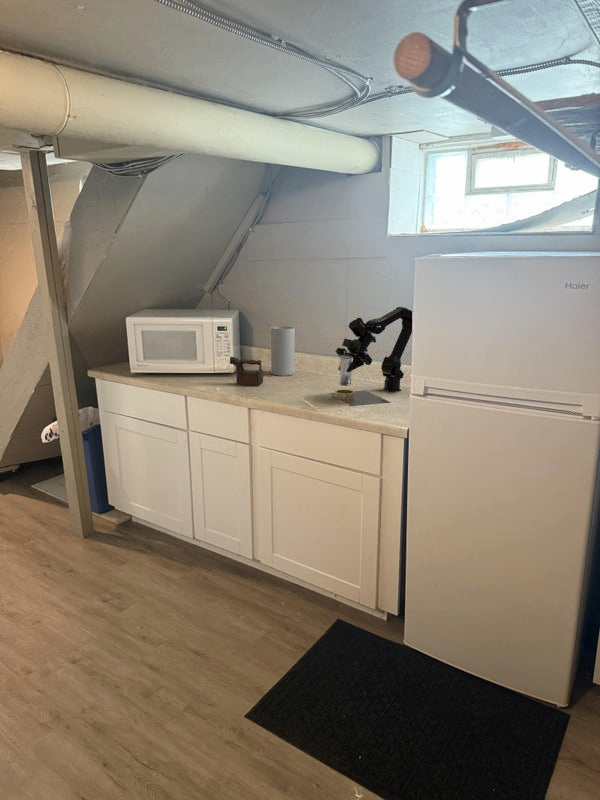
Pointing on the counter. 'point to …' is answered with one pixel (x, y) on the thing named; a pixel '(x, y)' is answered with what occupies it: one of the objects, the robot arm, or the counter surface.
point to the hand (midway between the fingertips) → (343, 371)
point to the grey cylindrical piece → (345, 370)
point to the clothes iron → (247, 372)
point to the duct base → (358, 397)
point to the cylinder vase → (282, 350)
